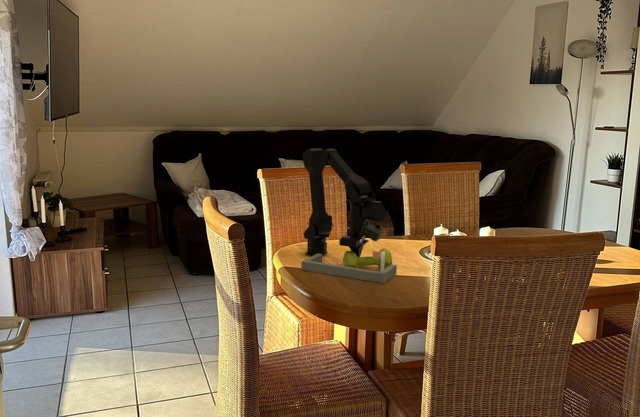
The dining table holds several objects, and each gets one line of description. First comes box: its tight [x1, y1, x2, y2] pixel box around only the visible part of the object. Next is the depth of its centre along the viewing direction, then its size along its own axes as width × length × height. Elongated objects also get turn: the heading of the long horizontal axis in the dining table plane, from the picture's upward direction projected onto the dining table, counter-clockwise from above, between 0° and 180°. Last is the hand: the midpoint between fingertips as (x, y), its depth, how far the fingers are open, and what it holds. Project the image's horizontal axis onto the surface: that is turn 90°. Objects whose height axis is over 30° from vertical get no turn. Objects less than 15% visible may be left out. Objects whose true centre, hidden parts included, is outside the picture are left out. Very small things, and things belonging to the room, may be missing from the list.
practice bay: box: [301, 250, 398, 284], centre depth 202 cm, size 30×12×10 cm, turn 63°
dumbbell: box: [342, 248, 393, 269], centre depth 203 cm, size 16×8×7 cm, turn 103°
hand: (357, 260), depth 208 cm, fingers closed
